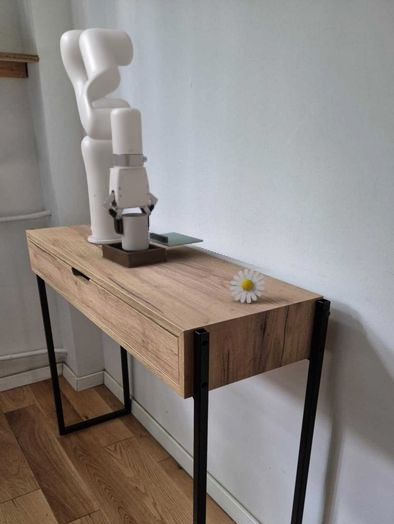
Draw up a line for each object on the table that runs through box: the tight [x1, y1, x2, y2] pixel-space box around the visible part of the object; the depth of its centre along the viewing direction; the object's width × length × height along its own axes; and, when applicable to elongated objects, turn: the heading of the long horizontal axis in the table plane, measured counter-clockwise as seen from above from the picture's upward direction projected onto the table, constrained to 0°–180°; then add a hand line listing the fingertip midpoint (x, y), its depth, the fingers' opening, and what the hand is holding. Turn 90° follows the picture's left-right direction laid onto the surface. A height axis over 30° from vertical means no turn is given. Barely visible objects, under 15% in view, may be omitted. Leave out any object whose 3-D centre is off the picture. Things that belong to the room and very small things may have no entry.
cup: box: [121, 212, 150, 251], centre depth 131 cm, size 7×10×9 cm
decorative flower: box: [229, 268, 267, 304], centre depth 105 cm, size 8×6×15 cm
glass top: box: [148, 231, 204, 248], centre depth 139 cm, size 15×12×2 cm
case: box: [101, 242, 167, 269], centre depth 133 cm, size 15×12×4 cm
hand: (132, 231), depth 131 cm, fingers closed on cup, 7 cm apart
